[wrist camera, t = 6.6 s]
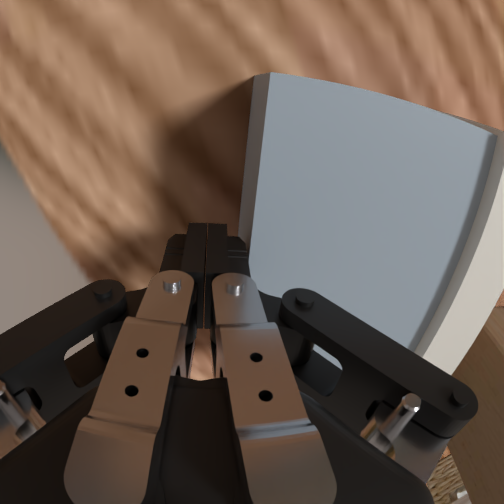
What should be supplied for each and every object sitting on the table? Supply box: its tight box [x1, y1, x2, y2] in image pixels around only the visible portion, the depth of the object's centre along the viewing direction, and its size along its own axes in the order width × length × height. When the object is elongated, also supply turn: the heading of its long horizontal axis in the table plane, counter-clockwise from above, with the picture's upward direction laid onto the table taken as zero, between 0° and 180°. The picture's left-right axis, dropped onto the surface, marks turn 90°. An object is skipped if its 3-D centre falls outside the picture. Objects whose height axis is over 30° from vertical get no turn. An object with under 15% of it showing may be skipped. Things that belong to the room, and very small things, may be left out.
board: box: [414, 110, 504, 375], centre depth 18 cm, size 24×4×6 cm, turn 174°
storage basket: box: [427, 454, 471, 504], centre depth 45 cm, size 24×16×15 cm
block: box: [238, 72, 498, 370], centre depth 15 cm, size 14×10×6 cm
